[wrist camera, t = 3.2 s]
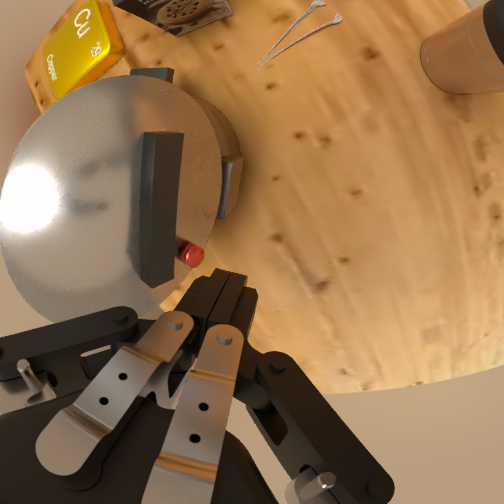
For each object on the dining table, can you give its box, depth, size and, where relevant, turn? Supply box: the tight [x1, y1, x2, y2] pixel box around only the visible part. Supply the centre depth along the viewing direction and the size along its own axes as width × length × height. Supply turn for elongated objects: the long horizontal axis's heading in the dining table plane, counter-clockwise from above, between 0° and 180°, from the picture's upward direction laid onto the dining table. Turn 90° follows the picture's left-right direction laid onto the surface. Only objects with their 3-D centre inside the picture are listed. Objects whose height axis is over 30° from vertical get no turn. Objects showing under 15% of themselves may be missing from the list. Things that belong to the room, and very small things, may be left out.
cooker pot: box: [130, 68, 244, 220], centre depth 34 cm, size 22×25×12 cm
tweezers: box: [257, 0, 342, 70], centre depth 29 cm, size 17×5×2 cm, turn 134°
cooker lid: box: [0, 75, 222, 323], centre depth 19 cm, size 20×20×3 cm
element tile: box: [43, 0, 125, 100], centre depth 31 cm, size 15×15×5 cm
